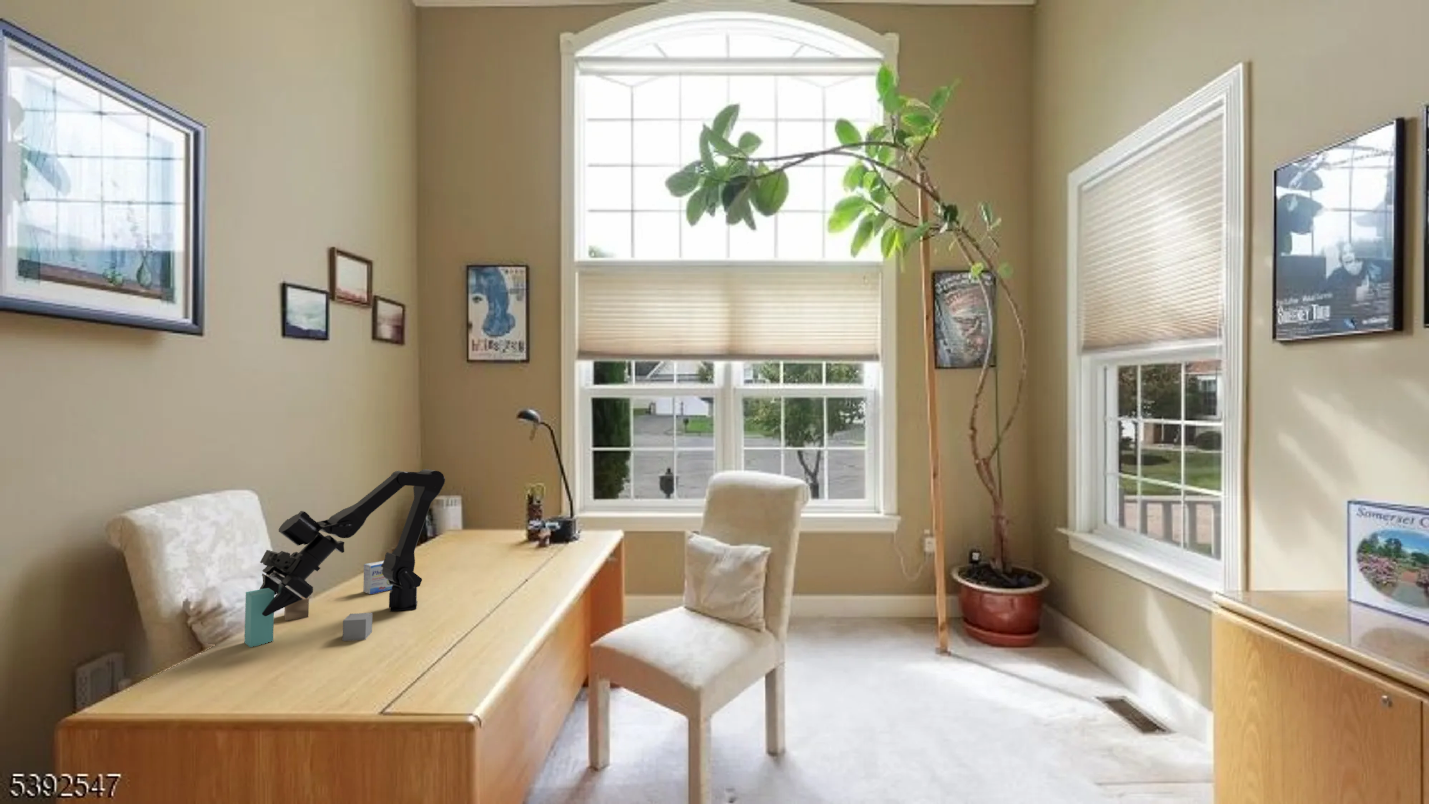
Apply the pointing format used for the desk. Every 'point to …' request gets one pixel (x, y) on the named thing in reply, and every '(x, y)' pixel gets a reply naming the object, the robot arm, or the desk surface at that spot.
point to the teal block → (258, 617)
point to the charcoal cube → (357, 626)
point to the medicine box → (375, 579)
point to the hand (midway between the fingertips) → (257, 610)
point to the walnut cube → (297, 609)
